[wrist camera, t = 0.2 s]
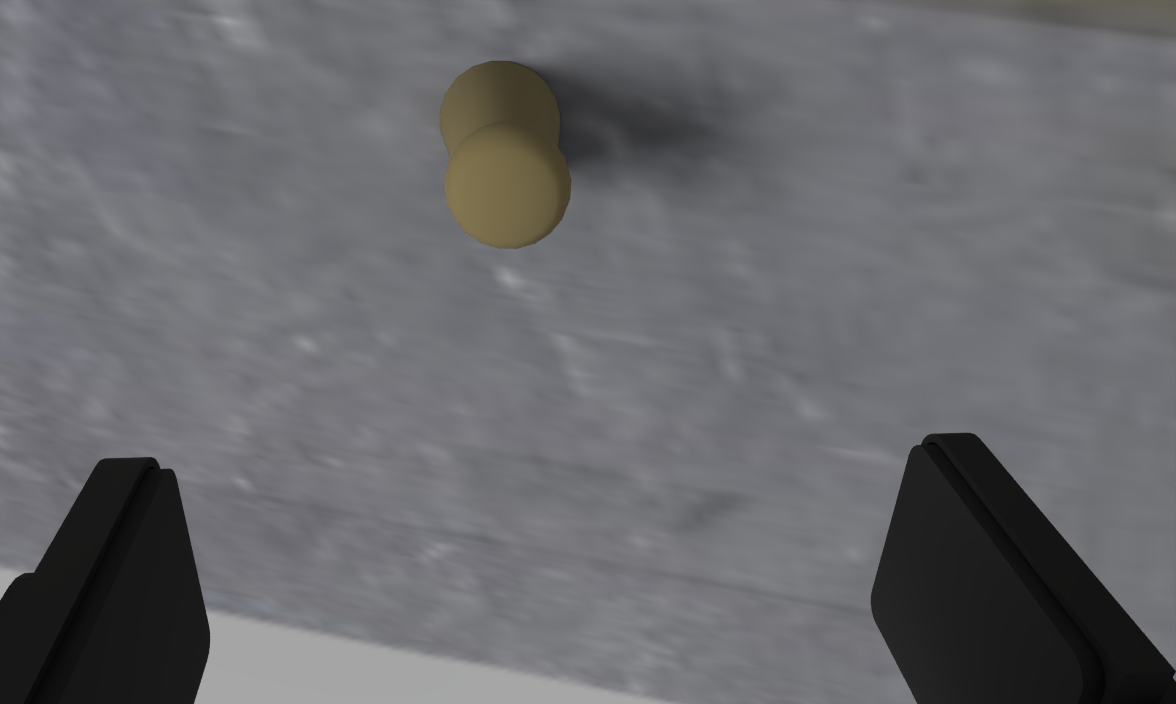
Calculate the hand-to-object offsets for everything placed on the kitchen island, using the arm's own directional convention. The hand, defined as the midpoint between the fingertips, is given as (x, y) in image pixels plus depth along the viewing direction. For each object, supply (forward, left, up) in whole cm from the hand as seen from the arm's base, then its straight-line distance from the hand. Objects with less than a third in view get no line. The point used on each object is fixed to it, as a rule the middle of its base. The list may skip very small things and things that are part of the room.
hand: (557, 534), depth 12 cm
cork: (+5, +1, -37) cm, 37 cm away
